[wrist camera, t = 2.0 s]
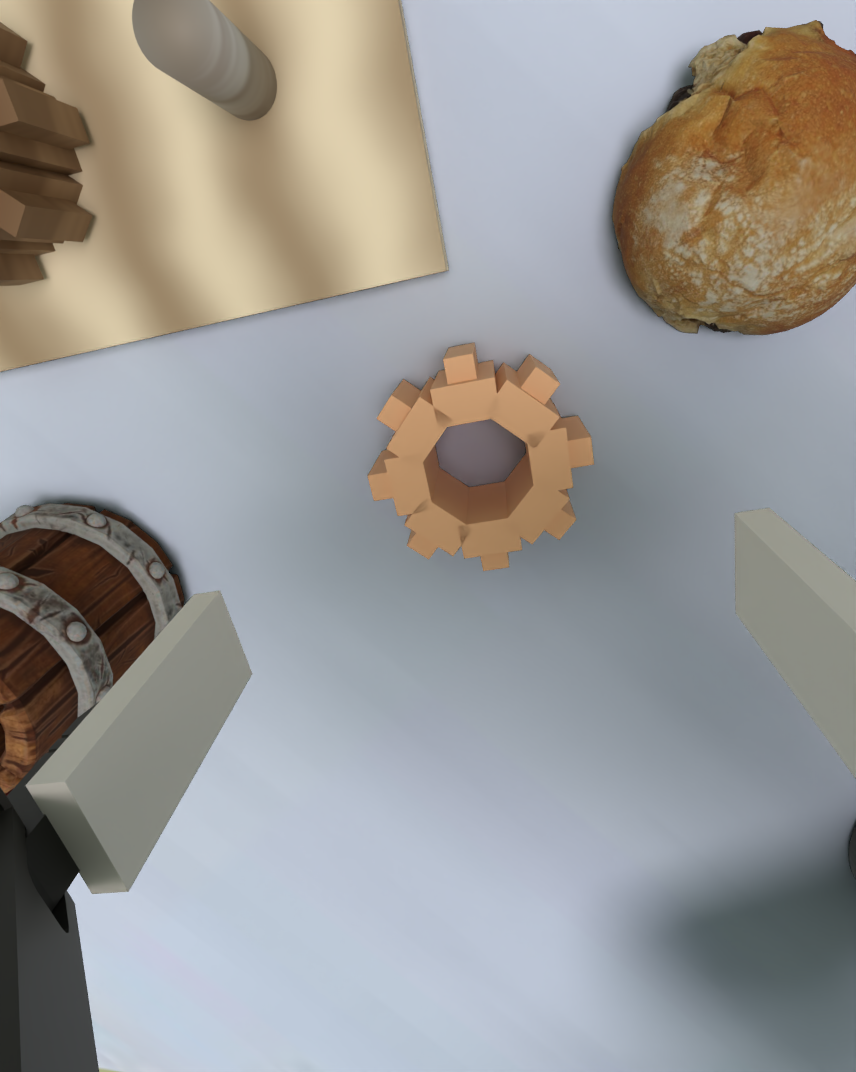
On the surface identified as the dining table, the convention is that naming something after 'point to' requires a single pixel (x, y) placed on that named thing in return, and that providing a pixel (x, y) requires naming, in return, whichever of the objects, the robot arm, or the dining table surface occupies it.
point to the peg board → (202, 165)
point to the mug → (71, 619)
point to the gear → (493, 509)
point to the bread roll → (747, 187)
